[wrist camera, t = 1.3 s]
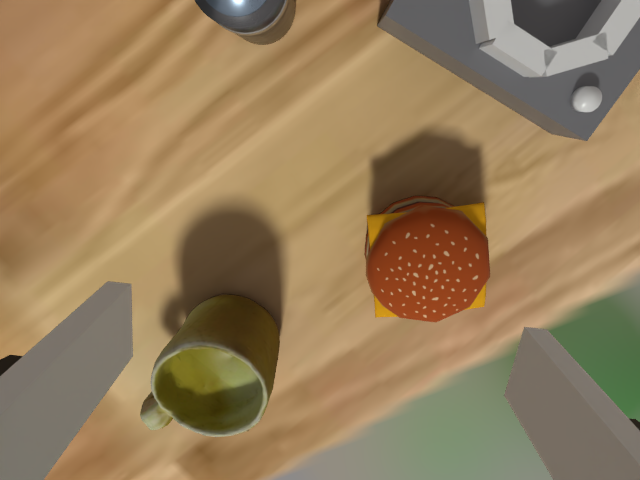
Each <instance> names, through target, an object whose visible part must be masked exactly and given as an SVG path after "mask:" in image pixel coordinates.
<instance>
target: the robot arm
mask: <svg viewBox="0 0 640 480" xmlns="http://www.w3.org/2000/svg"><path fill="white" fill-rule="evenodd" d="M132 356H133V342H132V291H131V284H128V283H119V282H110V281H108V282H106V283H105V284H104V285H103V286H102V287H101V288H100V289H99V290H97V291H96V292H95V293H94V294H93V295H92V296H91V297H89V298H88V299H87V300H86V301H85V302H84V303H83V304H82V305H80V306H79V307H78V308H77V309H76V310H75V311H74V312H72V313H71V314H70V315H69V316H68V317H67V318H66V319H65V320H63V321H62V322H61V323H60V324H59V325H58V326H57V327H56V328H54V329H53V330H52V331H51V332H50V333H49V334H48V335H46V336H45V337H44V338H43V339H42V340H41V341H40V342H39V343H37V344H36V345H35V346H34V347H33V348H32V349H31V350H29V351H28V352H27V353H26V354H25V355H24V356H16V355H9V356H7V357H5V358H3V359H1V360H0V480H44V478H45V477H46V476H47V474H48V473H49V471H50V470H51V469H52V467H53V466H54V464H55V463H56V462H57V460H58V459H59V458H60V456H61V455H62V453H63V452H64V451H65V449H66V448H67V446H68V445H69V444H70V442H71V441H72V440H73V438H74V437H75V435H76V434H77V433H78V431H79V430H80V428H81V427H82V426H83V424H84V423H85V422H86V420H87V419H88V417H89V416H90V415H91V413H92V412H93V410H94V409H95V408H96V406H97V405H98V404H99V402H100V401H101V399H102V398H103V397H104V395H105V394H106V392H107V391H108V390H109V388H110V387H111V386H112V384H113V383H114V381H115V380H116V379H117V377H118V376H119V374H120V373H121V372H122V370H123V369H124V368H125V366H126V365H127V363H128V362H129V361H130V359H131V358H132ZM504 396H505V398H506V399H507V401H508V403H509V404H510V406H511V408H512V410H513V411H514V413H515V415H516V416H517V418H518V420H519V422H520V423H521V425H522V427H523V428H524V430H525V432H526V433H527V435H528V437H529V439H530V440H531V442H532V444H533V446H534V447H535V449H536V451H537V453H538V454H539V456H540V458H541V459H542V461H543V463H544V464H545V466H546V468H547V470H548V471H549V473H550V475H551V477H552V478H553V480H640V422H638V421H637V420H636V419H629V418H628V417H627V416H626V415H625V414H624V413H623V412H622V411H621V410H620V409H619V408H618V406H617V405H616V404H615V403H614V402H613V401H612V400H611V399H610V398H609V397H608V396H607V395H606V393H605V392H604V391H603V390H602V389H601V388H600V387H599V386H598V385H597V384H596V383H595V381H594V380H593V379H592V378H591V377H590V376H589V375H588V374H587V373H586V372H585V371H584V369H583V368H582V367H581V366H580V365H579V364H578V363H577V362H576V361H575V360H574V359H573V358H572V356H571V355H570V354H569V353H568V352H567V351H566V350H565V349H564V348H563V347H562V346H561V344H560V343H559V342H558V341H557V340H556V339H555V338H554V337H553V336H552V335H551V334H550V333H549V331H548V330H547V329H538V328H529V327H524V330H523V333H522V337H521V340H520V343H519V347H518V350H517V354H516V357H515V360H514V364H513V367H512V371H511V374H510V378H509V382H508V384H507V388H506V391H505V395H504Z"/></svg>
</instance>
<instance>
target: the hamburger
mask: <svg viewBox="0 0 640 480" xmlns="http://www.w3.org/2000/svg"><path fill="white" fill-rule="evenodd" d="M367 223H368V233H367V235H366V245H365V258H366V277H367V280H368V283H369V286H370V289H371V292H372V293H373V294H374V302H375V317H397V316H398V317H400V318H406V319H414V320H422V321H429V322H438V321H440V320H442V319H444V318H447V317H449V316H451V315H453V314H455V313H458V312H460V311H462V310H466V309H472V308H478V307H484V304H485V297H486V282H487V280H488V279H489V277H490V266H489V250H488V238H487V237H486V217H485V207H484V202H483V203H477V204H470V205H463V206H456V207H455V206H453V205H451V204H449V203H447V202H445V201H443V200H441V199H439V198H437V197H425V196H413V197H410V198H407V199H403V200H400V201H397V202H394V203H392V204H391V205H390V206H389V207H388V208H386V209H385V210H384V211H383V212H381V213H380V214H377V215H367Z"/></svg>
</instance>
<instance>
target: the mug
mask: <svg viewBox="0 0 640 480" xmlns="http://www.w3.org/2000/svg"><path fill="white" fill-rule="evenodd" d="M279 345H280V340H279V332H278V328H277V326H276V323H275V321H274V319H273V318H272V317H271V315H270V314H269V312H268V311H267V310H266V309H265V308H263V307H261V306H260V305H258V304H257V303H255V302H254V301H252V300H250V299H248V298H245V297H241V296H237V295H227V294H224V295H219V296H215V297H213V298H210V299H208V300H206V301H204V302H202V303H201V304H199V305H198V306H197V307H196V308H194V309H193V310H192V312H191V313H190V314H189V315H188V317H187V318H186V320H185V322H184V324H183V326H182V327H181V329H180V330H179V331H178V332H177V334H176V335H175V336H174V337H173V338H172V340H171V341H170V342H169V343H168V344H167V346H166V347H165V348H164V349H163V350H162V352H161V354H160V355H159V357H158V358H157V360H156V362H155V364H154V368H153V372H152V377H151V389H152V392H151V393H150V394H149V395H148V397H147V398H146V399H145V400H144V402H143V405H142V409H141V413H140V416H141V419H142V421H143V422H144V423H145V424H146V425H147V426H148V427H149V429H150V430H157V429H161V428H163V427H165V426H167V425H168V424H169V423H170V422H171V420H172V419H174V420H176V421H177V422H178V423H179V424H180V425H181V426H183V427H184V428H187V429H189V430H192V431H194V432H196V433H200V434H202V435H205V436H214V437H222V436H231V435H236V434H240V433H243V432H245V431H248V430H250V429H251V428H252V427H254V426H255V425H256V424H257V423H258V422H259V421H260V419H261V418H262V416H263V414H264V412H265V409H266V407H267V404H268V401H269V398H270V395H271V393H272V390H273V384H274V378H275V372H276V366H277V360H278V353H279Z"/></svg>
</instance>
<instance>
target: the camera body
mask: <svg viewBox="0 0 640 480" xmlns="http://www.w3.org/2000/svg"><path fill="white" fill-rule="evenodd" d="M377 26H378V27H379V28H381V29H383V30H384V31H386V32H387V33H389V34H391V35H392V36H394V37H396V38H397V39H399V40H400V41H402V42H404V43H405V44H407V45H408V46H410V47H412V48H413V49H415V50H417V51H418V52H420V53H421V54H423V55H425V56H426V57H428V58H430V59H431V60H433V61H434V62H436V63H438V64H439V65H441V66H442V67H444V68H446V69H447V70H449V71H451V72H452V73H454V74H455V75H457V76H459V77H460V78H462V79H463V80H465V81H467V82H468V83H470V84H472V85H473V86H475V87H476V88H478V89H480V90H481V91H483V92H484V93H486V94H488V95H489V96H491V97H493V98H494V99H496V100H497V101H499V102H501V103H502V104H504V105H506V106H507V107H509V108H510V109H512V110H514V111H515V112H517V113H518V114H520V115H522V116H523V117H525V118H527V119H528V120H530V121H531V122H533V123H535V124H536V125H538V126H539V127H541V128H543V129H544V130H546V131H548V132H549V133H551V134H554V135H559V136H564V137H569V138H574V139H579V140H584V141H587V140H588V139H589V137H590V136H591V135H592V133H593V132H594V131H595V129H596V128H597V127H598V125H599V124H600V122H601V121H602V120H603V118H604V117H605V116H606V114H607V113H608V112H609V110H610V109H611V107H612V106H613V105H614V103H615V102H616V101H617V99H618V98H619V96H620V95H621V94H622V92H623V91H624V90H625V88H626V87H627V86H628V84H629V83H630V81H631V80H632V79H633V77H634V76H635V75H636V73H637V72H638V70H639V69H640V0H391V1H390V3H389V4H388V6H387V8H386V10H385V12H384V14H383V16H382V17H381V19H380V21H379V23H378V25H377Z"/></svg>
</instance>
